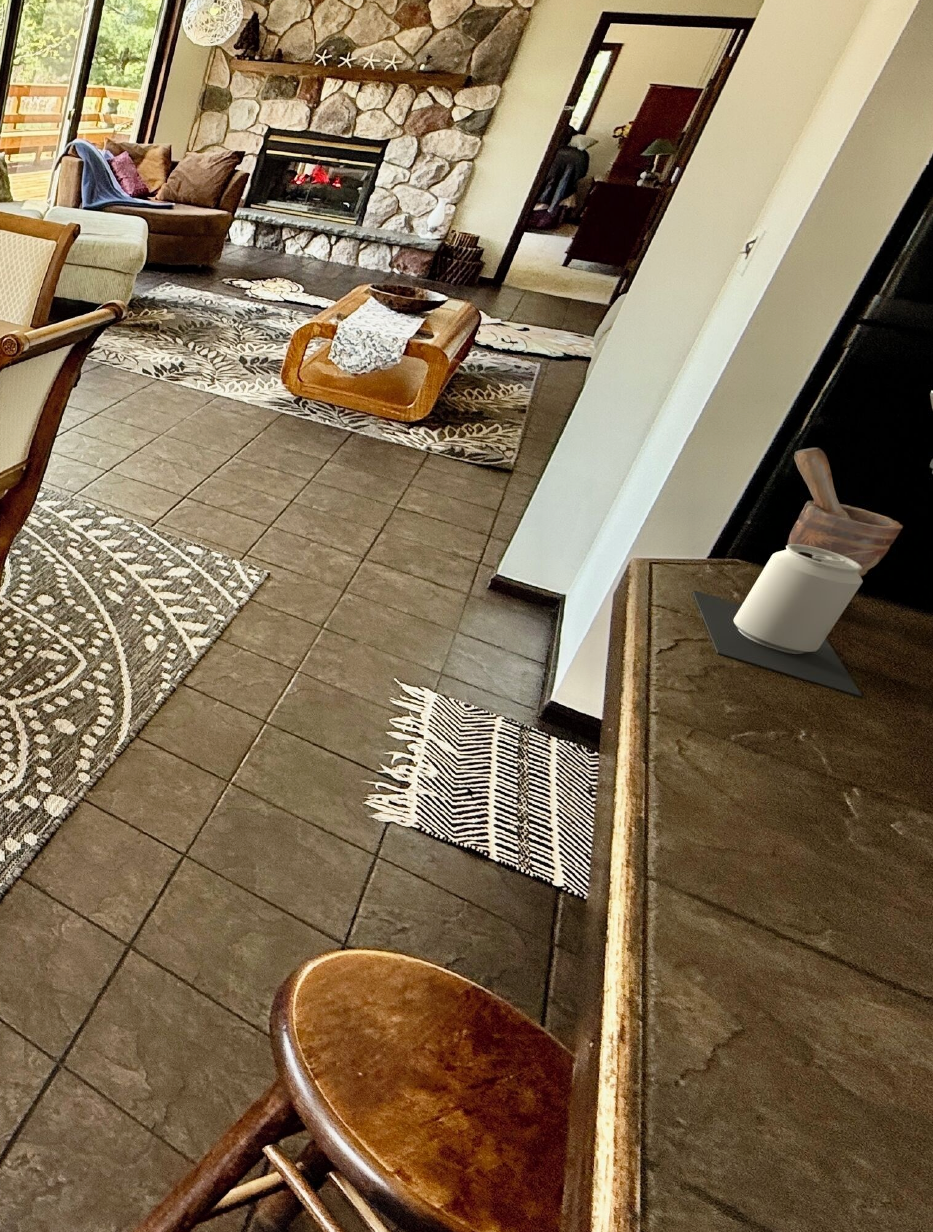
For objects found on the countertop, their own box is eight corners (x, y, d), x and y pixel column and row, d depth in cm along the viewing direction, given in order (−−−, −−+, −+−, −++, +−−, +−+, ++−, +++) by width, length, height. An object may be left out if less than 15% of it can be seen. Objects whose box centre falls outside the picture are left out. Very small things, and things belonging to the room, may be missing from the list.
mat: (816, 625, 117) (817, 624, 117) (861, 697, 103) (862, 696, 102) (691, 591, 124) (692, 589, 124) (717, 653, 109) (718, 652, 109)
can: (722, 616, 117) (771, 533, 113) (803, 638, 114) (858, 554, 109) (738, 641, 112) (790, 555, 107) (823, 665, 108) (882, 578, 103)
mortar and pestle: (731, 590, 125) (810, 456, 117) (722, 568, 131) (796, 440, 123) (853, 624, 118) (945, 485, 110) (837, 599, 125) (923, 466, 117)
